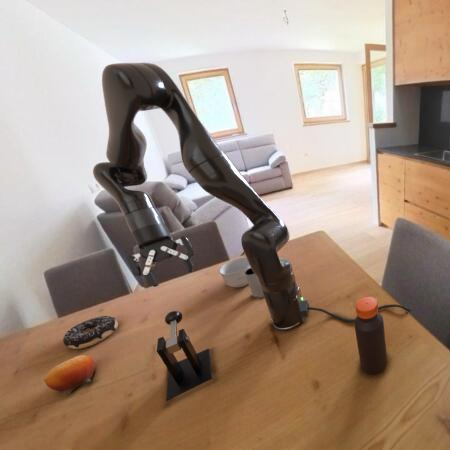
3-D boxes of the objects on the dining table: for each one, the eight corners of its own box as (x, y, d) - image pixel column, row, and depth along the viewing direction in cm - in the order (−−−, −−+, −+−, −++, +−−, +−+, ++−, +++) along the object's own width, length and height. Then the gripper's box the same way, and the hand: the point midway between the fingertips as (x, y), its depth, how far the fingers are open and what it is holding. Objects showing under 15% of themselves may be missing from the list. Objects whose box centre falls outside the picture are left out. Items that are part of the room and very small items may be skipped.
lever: (168, 321, 74) (162, 311, 72) (184, 315, 76) (179, 305, 74) (167, 357, 65) (160, 347, 63) (185, 349, 66) (179, 339, 65)
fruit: (58, 403, 64) (35, 376, 63) (61, 399, 69) (40, 374, 68) (104, 375, 70) (85, 349, 69) (104, 373, 75) (86, 349, 74)
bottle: (355, 367, 70) (344, 307, 61) (372, 348, 75) (364, 290, 66) (376, 381, 67) (368, 319, 58) (392, 360, 72) (387, 300, 63)
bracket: (170, 369, 72) (148, 333, 67) (210, 351, 77) (192, 316, 71) (168, 403, 64) (143, 366, 58) (213, 381, 69) (193, 344, 63)
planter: (269, 293, 98) (262, 269, 94) (258, 300, 95) (249, 276, 90) (262, 289, 100) (254, 265, 96) (250, 296, 97) (241, 272, 93)
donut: (86, 354, 78) (78, 344, 76) (56, 347, 80) (48, 338, 79) (128, 324, 87) (122, 315, 86) (101, 319, 90) (94, 310, 88)
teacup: (244, 293, 99) (237, 274, 95) (219, 290, 101) (211, 272, 98) (268, 270, 111) (263, 253, 108) (245, 268, 113) (239, 251, 110)
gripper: (109, 236, 72) (138, 292, 73) (174, 215, 78) (200, 267, 79) (122, 239, 78) (148, 290, 79) (181, 220, 85) (204, 267, 86)
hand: (174, 278), depth 79 cm, fingers open, 8 cm apart
